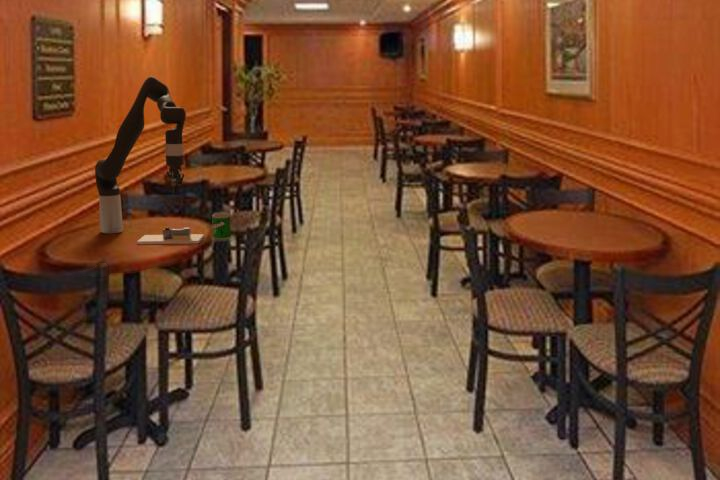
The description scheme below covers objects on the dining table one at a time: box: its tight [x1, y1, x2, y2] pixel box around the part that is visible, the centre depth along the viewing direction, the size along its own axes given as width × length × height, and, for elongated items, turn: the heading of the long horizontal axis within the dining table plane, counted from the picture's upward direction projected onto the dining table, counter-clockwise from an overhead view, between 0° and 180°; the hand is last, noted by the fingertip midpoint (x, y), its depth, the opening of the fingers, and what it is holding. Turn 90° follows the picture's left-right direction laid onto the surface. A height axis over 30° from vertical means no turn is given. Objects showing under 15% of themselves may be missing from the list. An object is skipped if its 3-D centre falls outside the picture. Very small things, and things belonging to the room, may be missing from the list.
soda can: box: [211, 211, 232, 242], centre depth 330 cm, size 8×8×12 cm
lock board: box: [136, 233, 205, 245], centre depth 331 cm, size 26×13×3 cm, turn 91°
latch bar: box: [162, 227, 192, 239], centre depth 329 cm, size 12×4×4 cm, turn 89°
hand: (176, 194), depth 333 cm, fingers closed
